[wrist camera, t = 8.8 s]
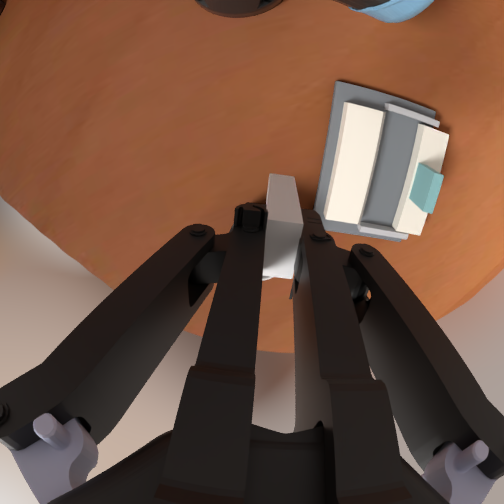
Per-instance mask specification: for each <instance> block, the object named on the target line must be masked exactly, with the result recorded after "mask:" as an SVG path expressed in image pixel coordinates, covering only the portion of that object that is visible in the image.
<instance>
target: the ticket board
mask: <svg viewBox="0 0 504 504" xmlns="http://www.w3.org/2000/svg"><path fill="white" fill-rule="evenodd" d="M435 113H436V112H435V111H433V110H430V109H428V108H425V107H423V106H420V105H417V104H415V103H412V102H409V101H406V100H403V99H401V98H398V97H394V96H391V95H388V94H385V93H382V92H378V91H375V90H371V89H368V88H364V87H360V86H356V85H352V84H348V83H344V82H340V81H335V86H334V93H333V100H332V107H331V114H330V120H329V126H328V133H327V139H326V144H325V150H324V156H323V162H322V167H321V173H320V178H319V183H318V188H317V193H316V198H315V203H314V208H313V210H315V211H316V212H317V213H318V214H319V215H320V217H321V221H322V223H323V226H324V229H325V230H327V231H334V232H341V233H347V234H354V235H360V236H367V237H373V238H379V239H385V240H392V241H398V242H401V239H406V240H407V238H408V233H404V232H399V231H396V230H395V229H394V227H393V226H392V223H393V220H394V217H395V214H396V211H397V208H398V204H399V201H400V198H401V194H402V191H403V187H404V183H405V180H406V176H407V172H408V168H409V164H410V160H411V156H412V152H413V147H414V143H415V138H416V133H417V128H418V123H419V124H422V125H425V126H428V127H431V128H433V126H435V127H438V128H439V123H440V122H439V121H437V120H434V119H435Z"/></svg>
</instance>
